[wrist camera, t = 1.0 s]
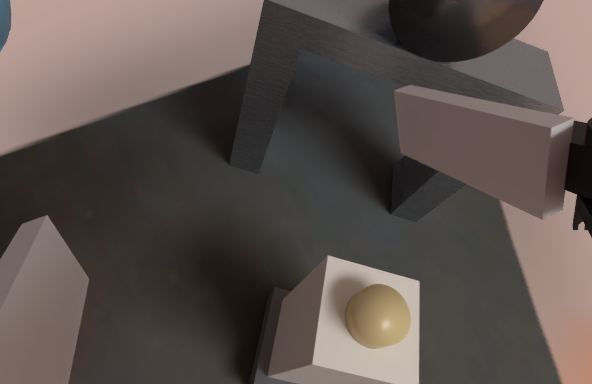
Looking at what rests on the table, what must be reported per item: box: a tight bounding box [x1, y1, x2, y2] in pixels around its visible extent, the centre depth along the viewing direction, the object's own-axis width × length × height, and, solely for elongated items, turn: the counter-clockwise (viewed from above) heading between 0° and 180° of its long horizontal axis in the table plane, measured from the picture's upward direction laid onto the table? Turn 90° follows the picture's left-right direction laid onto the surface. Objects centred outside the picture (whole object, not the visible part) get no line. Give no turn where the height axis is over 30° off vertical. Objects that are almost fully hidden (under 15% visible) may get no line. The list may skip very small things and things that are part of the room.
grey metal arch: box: [229, 0, 564, 222], centre depth 24 cm, size 17×5×21 cm, turn 79°
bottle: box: [249, 256, 419, 384], centre depth 20 cm, size 6×6×12 cm
